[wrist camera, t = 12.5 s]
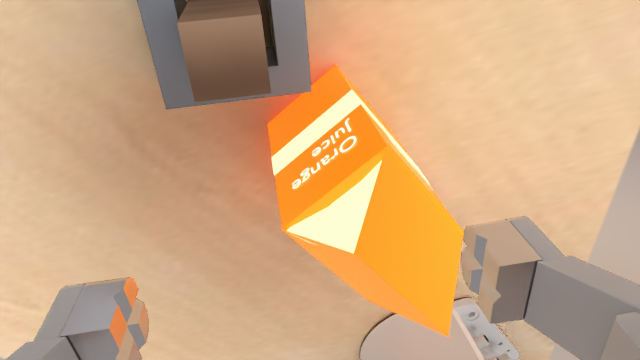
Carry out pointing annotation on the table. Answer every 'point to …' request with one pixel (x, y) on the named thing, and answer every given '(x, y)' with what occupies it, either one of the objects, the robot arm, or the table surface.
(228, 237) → the table surface
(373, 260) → the orange juice
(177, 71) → the socket
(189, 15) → the peg
